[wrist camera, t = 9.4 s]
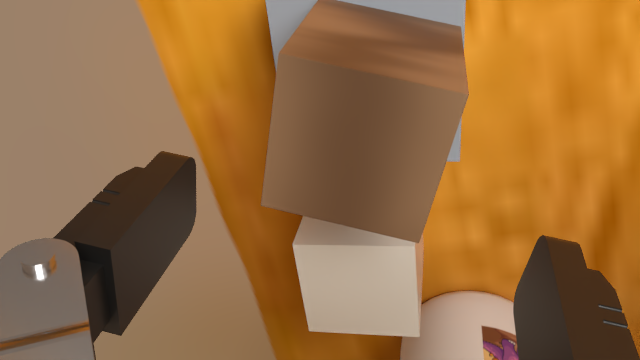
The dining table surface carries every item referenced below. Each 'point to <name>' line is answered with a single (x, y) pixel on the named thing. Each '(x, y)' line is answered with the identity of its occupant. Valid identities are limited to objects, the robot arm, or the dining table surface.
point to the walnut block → (364, 118)
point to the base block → (428, 3)
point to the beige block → (358, 280)
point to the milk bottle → (464, 329)
